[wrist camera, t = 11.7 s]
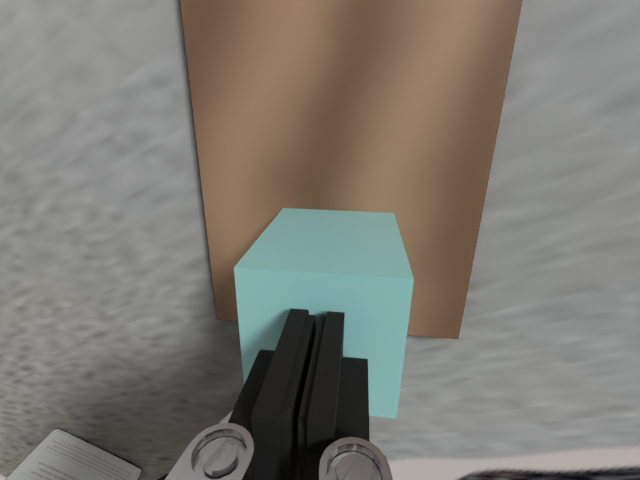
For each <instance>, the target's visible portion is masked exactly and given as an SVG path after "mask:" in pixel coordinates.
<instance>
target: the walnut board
mask: <svg viewBox="0 0 640 480" xmlns="http://www.w3.org/2000/svg"><path fill="white" fill-rule="evenodd" d="M180 3H181V12H182V21H183V29H184V38H185V47H186V55H187V64H188V73H189V81H190V90H191V99H192V107H193V116H194V125H195V133H196V142H197V151H198V159H199V168H200V177H201V185H202V194H203V203H204V211H205V220H206V229H207V237H208V246H209V255H210V263H211V272H212V281H213V289H214V298H215V307H216V315H217V320H229V321H238V311H237V299H236V288H235V276H234V267H235V265H236V264H237V263H238V262H239V261H240V259H241V258H242V257H243V256H244V255H245V253H246V252H247V251H248V250H249V249H250V247H251V246H252V245H253V244H254V243H255V241H256V240H257V239H258V238H259V236H260V235H261V234H262V233H263V232H264V230H265V229H266V228H267V227H268V226H269V224H270V223H271V222H272V221H273V220H274V218H275V217H276V216H277V215H278V214H279V212H280V211H281V210H282V209H283V208H294V209H316V210H337V211H359V212H381V213H394V215H395V218H396V221H397V225H398V228H399V231H400V235H401V238H402V241H403V245H404V248H405V251H406V255H407V258H408V261H409V265H410V268H411V271H412V275H413V278H414V283H413V291H412V299H411V307H410V314H409V322H408V330H407V335H413V336H426V337H438V338H450V339H458V338H459V332H460V327H461V322H462V317H463V311H464V306H465V301H466V296H467V290H468V285H469V280H470V274H471V269H472V264H473V259H474V253H475V248H476V243H477V238H478V232H479V227H480V222H481V216H482V211H483V206H484V201H485V195H486V190H487V185H488V179H489V174H490V169H491V164H492V158H493V153H494V148H495V143H496V137H497V132H498V127H499V121H500V116H501V111H502V106H503V100H504V95H505V90H506V85H507V79H508V74H509V69H510V63H511V58H512V53H513V48H514V42H515V37H516V32H517V27H518V21H519V16H520V11H521V5H522V0H180Z"/></svg>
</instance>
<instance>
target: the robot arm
mask: <svg viewBox="0 0 640 480" xmlns="http://www.w3.org/2000/svg"><path fill="white" fill-rule="evenodd" d="M344 318H345V312H332V311H327V314H326V316H322V315H320V317H319V322H318V326H317V331H316V336H315V315H309V310H305V309H292V308H291V309H290V311H289V314H288V317H287V319H286V322H285V325H284V327H283V330H282V333H281V336H280V338H279V341H278V344H277V346H276V349H275V351H274V350H263V349H261V350H260V351H259V352H258V354H257V356H256V359H255V361H254V363H253V366H252V368H251V370H250V373H249V375H248V377H247V379H246V382H245V384H244V386H243V389H242V391H241V393H240V396H239V398H238V400H237V402H236V405H235V407H234V409H233V412H232V414H231V416H230V419H229V421H228V423H222V424H216V425H214V426H211V427H209V428H207V429H205V430H204V431H202V432H201V433H199V434H198V435H197V436H196V437H195V438H194V439H193V440H192V441H191V443H190V444H189V445H188V447H187V448H186V450H185V451H184V452H183V454H182V455H181V457H180V458H179V460H178V461H177V463H176V464H175V465H174V467H173V468H172V470H171V471H170V473H168V474H167V475H165V476H163V477H162V478H160V479H158V480H392V475H391V471H390V467H389V464H388V462H387V459H386V457H385V456H384V454H383V453H382V452H381V451H380V449H379V448H377V447H376V446H375V445H374V444H372V443H371V442H369V391H368V359H364V358H353V357H343V341H344Z"/></svg>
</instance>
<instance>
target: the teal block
mask: <svg viewBox="0 0 640 480" xmlns="http://www.w3.org/2000/svg"><path fill="white" fill-rule="evenodd" d="M234 276H235V288H236V299H237V311H238V323H239V334H240V346H241V357H242V369H243V381H244V384H245V382H246V379H247V377H248V375H249V373H250V370H251V368H252V366H253V363H254V361H255V359H256V356H257V354H258V352H259V351H260V350H261V349H263V350H274V351H275V349H276V346H277V344H278V341H279V338H280V336H281V333H282V330H283V327H284V325H285V322H286V319H287V317H288V314H289V311H290V309H291V308H292V309H305V310H309V315H315V336H316V331H317V326H318V322H319V317H320V315H322V316H326V314H327V311H332V312H345V318H344V341H343V357H353V358H364V359H368V391H369V415H370V416H379V417H388V418H396V417H397V409H398V401H399V394H400V386H401V378H402V370H403V362H404V354H405V346H406V338H407V330H408V322H409V314H410V307H411V299H412V291H413V283H414V278H413V275H412V271H411V268H410V265H409V261H408V258H407V255H406V251H405V248H404V245H403V241H402V238H401V235H400V231H399V228H398V225H397V221H396V218H395V215H394V213H381V212H359V211H337V210H316V209H294V208H283V209H282V210H281V211H280V212H279V214H278V215H277V216H276V217H275V218H274V220H273V221H272V222H271V223H270V224H269V226H268V227H267V228H266V229H265V230H264V232H263V233H262V234H261V235H260V236H259V238H258V239H257V240H256V241H255V243H254V244H253V245H252V246H251V247H250V249H249V250H248V251H247V252H246V253H245V255H244V256H243V257H242V258H241V259H240V261H239V262H238V263H237V264H236V265H235V267H234Z"/></svg>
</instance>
